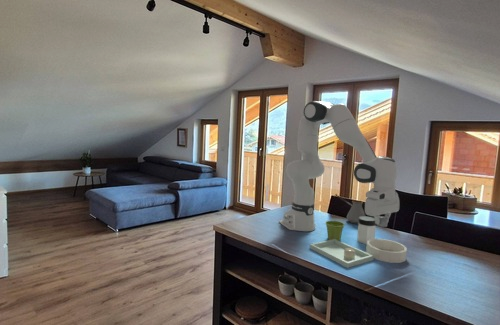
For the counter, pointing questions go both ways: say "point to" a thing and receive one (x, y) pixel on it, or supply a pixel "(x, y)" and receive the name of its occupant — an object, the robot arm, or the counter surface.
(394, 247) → the bowl
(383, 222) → the grey ball
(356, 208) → the coffee pot
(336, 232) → the plant pot
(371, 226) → the jar
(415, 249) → the counter surface
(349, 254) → the stone sand
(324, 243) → the parts tray
